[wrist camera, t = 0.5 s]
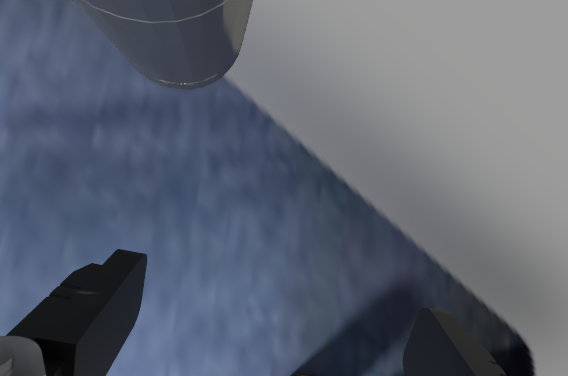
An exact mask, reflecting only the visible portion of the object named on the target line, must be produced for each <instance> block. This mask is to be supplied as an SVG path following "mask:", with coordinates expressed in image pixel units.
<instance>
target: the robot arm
mask: <svg viewBox="0 0 568 376" xmlns="http://www.w3.org/2000/svg"><path fill="white" fill-rule="evenodd" d="M73 1H74V2H75V3H76V4H77V5H78V6H79V7H80V8H81V9H82V10H83V11H84V12H85V14H86V15H87V16H88V17H89V18H90V19H91V20H92V21H93V22H94V23H95V24H96V25H97V27H98V28H99V29H100V30H101V31H102V32H103V33H104V34H105V35H106V36H107V37H108V38H109V39H110V41H111V42H112V43H113V44H114V45H115V46H116V47H117V48H118V49H119V50H120V52H121V53H122V54H123V55H124V56H125V57H126V58H127V59H128V60H129V61H130V62H131V63H132V64H133V65H134V66H135V67H136V68H137V69H138V70H139V71H140V72H141V73H142V74H144V75H145V76H146V77H148V78H149V79H151V80H153V81H155V82H157V83H159V84H161V85H164V86H168V87H172V88H176V89H193V88H198V87H203V86H205V85H208V84H210V83H213V82H215V81H216V80H217V79H219V78H220V77H222V76H223V75H224V74H225V73H226V72H227V71H228V70H229V69H230V68H231V67H232V65H233V64H234V62H235V60H236V58H237V57H238V55H239V52H240V48H241V45H242V41H243V38H244V34H245V30H246V26H247V22H248V18H249V14H250V10H251V6H252V2H253V0H73ZM146 265H147V255H146V254H143V253H137V252H132V251H127V250H121V249H117V250H116V251H115V252H114V253H113V254H112V255H111V256H110V257H109V258H108V260H107V261H106V262H105V263H104V264H103V265H99V264H94V263H91V264H89V265H87V266H85V267H83V268H80V269H78V270H76V271H74V272H72V273H71V274H70V275H69V276H68V277H67V278H66V279H65V280H64V281H63V282H62V283H61V284H60V287H59V286H58V287H57V288H56V289H55V290H53V291H52V292H51V293H50V295H49V297H46V298H45V299H44V300H43V301H42V302H41V303H40V304H39V305H38V306H37V307H36V308H35V309H33V310H32V311H31V312H30V313H29V314H28V315H27V316H26V317H25V318H24V319H23V320H22V321H21V322H20V323H19V324H18V325H17V326H16V327H14V328H13V329H12V330H11V331H10V332H9V333H8V334H7V335H6V336H0V376H106V374H107V372H108V371H109V369H110V367H111V365H112V364H113V362H114V360H115V358H116V357H117V355H118V353H119V351H120V350H121V348H122V346H123V344H124V343H125V341H126V339H127V337H128V336H129V334H130V332H131V330H132V329H133V327H134V325H135V322H136V320H137V317H138V314H139V311H140V307H141V301H142V294H143V287H144V280H145V272H146ZM403 367H404V372H405V375H406V376H506V373H505V372H504V371H503V370H502V368H501V367H500V366H499V365H497V364H496V361H495V360H494V358H493V357H492V356H491V355H490V353H489V352H488V351H487V350H486V348H485V347H484V346H483V345H481V344H480V343H479V342H478V341H477V340H475V339H474V338H473V337H472V336H471V335H469V334H468V333H467V331H466V330H465V329H464V328H463V326H462V325H461V324H460V322H459V321H458V320H457V319H456V317H455V316H454V315H453V314H452V313H450V312H446V311H441V310H436V309H430V308H423V309H422V310H421V311H420V312H419V314H418V317H417V319H416V322H415V324H414V327H413V330H412V332H411V335H410V337H409V340H408V342H407V345H406V348H405V350H404V355H403Z"/></svg>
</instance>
